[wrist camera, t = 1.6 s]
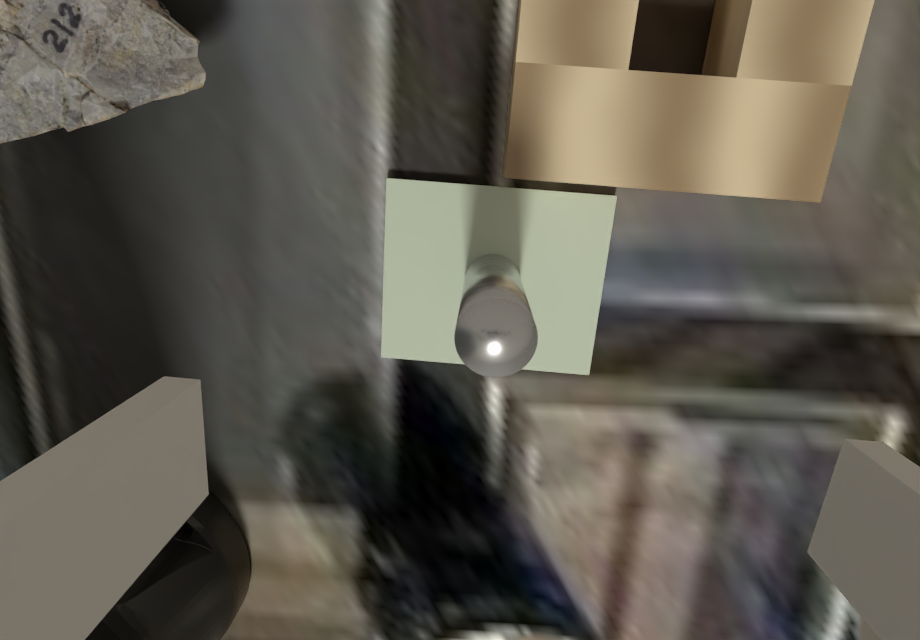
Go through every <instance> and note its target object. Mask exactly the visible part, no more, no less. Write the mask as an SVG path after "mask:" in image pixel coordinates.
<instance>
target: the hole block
mask: <svg viewBox="0 0 920 640" xmlns="http://www.w3.org/2000/svg"><path fill="white" fill-rule="evenodd" d="M638 3H639V0H518V9H517V20H516V31H515V42H514V52H513V63H512V74H511V84H510V95H509V106H508V117H507V127H506V138H505V149H504V160H503V170H502V177H503V178H510V179H523V180H536V181H549V182H562V183H575V184H588V185H601V186H614V187H627V188H640V189H653V190H666V191H679V192H692V193H705V194H718V195H730V196H743V197H756V198H769V199H782V200H795V201H808V202H821V198H822V194H823V191H824V187H825V183H826V180H827V176H828V172H829V168H830V165H831V161H832V157H833V153H834V150H835V146H836V142H837V138H838V135H839V131H840V127H841V123H842V120H843V116H844V112H845V109H846V105H847V101H848V97H849V94H850V90H851V86H852V82H853V79H854V75H855V71H856V67H857V64H858V60H859V56H860V53H861V49H862V45H863V41H864V38H865V34H866V30H867V26H868V23H869V19H870V15H871V11H872V8H873V4H874V0H716V1H715V6H714V11H713V17H712V22H711V27H710V32H709V38H708V43H707V48H706V53H705V59H704V64H703V69H702V75H692V74H678V73H664V72H650V71H636V70H628V69H629V62H630V56H631V49H632V43H633V36H634V30H635V23H636V16H637V10H638Z"/></svg>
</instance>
